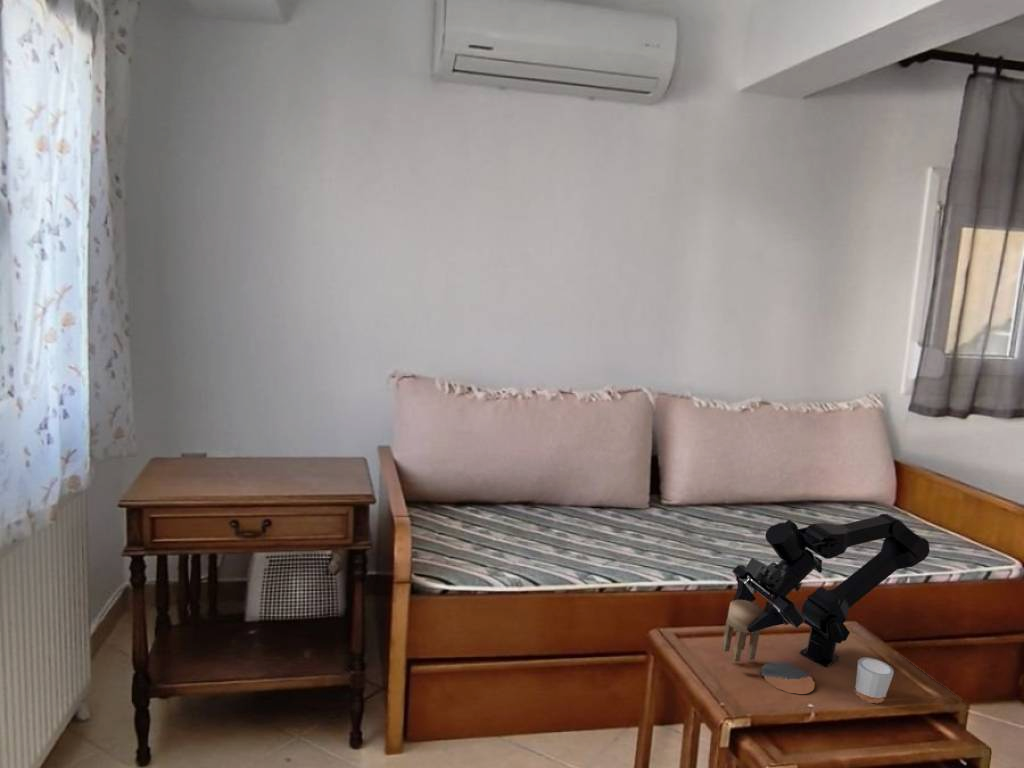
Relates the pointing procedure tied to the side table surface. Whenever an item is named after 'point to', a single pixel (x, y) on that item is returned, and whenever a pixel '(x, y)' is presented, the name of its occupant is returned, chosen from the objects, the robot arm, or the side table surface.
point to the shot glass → (873, 677)
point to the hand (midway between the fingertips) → (738, 622)
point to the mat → (783, 671)
